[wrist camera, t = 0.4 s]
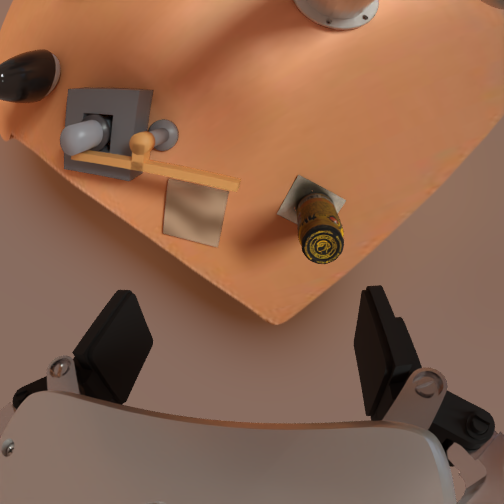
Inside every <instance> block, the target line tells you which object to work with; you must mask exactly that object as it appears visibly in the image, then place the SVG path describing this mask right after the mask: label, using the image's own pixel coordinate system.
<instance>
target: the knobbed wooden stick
mask: <svg viewBox="0 0 504 504" xmlns="http://www.w3.org/2000/svg"><path fill="white" fill-rule="evenodd" d="M129 146H130V149H131V151H132V157H130V156H124V155H118V154H112V153H105V152H98V151H91V150H86V151H83V152H81V153H78V154H76V155H73V156H71V160H78V161H84V162H90V163H97V164H103V165H108V166H114V167H120V168H125V169H131V170H136V171H141V172H147V173H152V174H157V175H162V176H167V177H172V178H176V179H181V180H186V181H190V182H195V183H199V184H204V185H208V186H213V187H217V188H221V189H226V190H230V191H234V192H237V191H238V189H239V186H240V182H241V179H239V178H235V177H231V176H226V175H222V174H218V173H213V172H208V171H204V170H199V169H194V168H190V167H185V166H180V165H175V164H170V163H164V162H159V161H154V160H149V158H150V151H151V150H152V149H153V148H154V146H155V137H154V135H153V134H152V133H151V132H148V131H143V132H140V133H137V134H134V135H133V136H132V137H131V139H130V142H129Z"/></svg>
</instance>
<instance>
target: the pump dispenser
mask: <svg viewBox="0 0 504 504" xmlns="http://www.w3.org/2000/svg"><path fill="white" fill-rule="evenodd" d="M59 77H60V63H59V60H58V59H57V57H56V56H55V55H54V54H52V53H51V52H50V51H48V50H34V51H29V52H25V53H22V54H19V55H17V56H14V57H12V58H10V59H8V60H6V61H5V62H3V63H2V64H0V100H3V101H8V102H15V103H33V102H37V101H40V100H41V99H43V98H44V97H45V96H47V95H48V94H49V93H50V92H51V91H52V90H53V89H54V88H55V86H56V84H57V82H58V80H59Z"/></svg>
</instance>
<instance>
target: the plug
mask: <svg viewBox="0 0 504 504" xmlns="http://www.w3.org/2000/svg"><path fill="white" fill-rule="evenodd" d="M112 121H113V115H111V116H106V117H103V116H101V115H99V114H93V115H89V116H86V117H85V118H84V119H83V120H82V121H81V122H80V123H76V124H73V125H69V126H67V127H65V128H64V129H63V131H62V133H61V136H60V144H61V148H62V150H63V151H64V152H65V153H66V154H67V155H70V156H73V155H76V154H78V153H81V152H83V151H86V150H91V151H99V150H101V149H103V148H104V147H105V146H106V145H107V143H108V142H110V141H111V131H112Z"/></svg>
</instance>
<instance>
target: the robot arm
mask: <svg viewBox="0 0 504 504" xmlns="http://www.w3.org/2000/svg"><path fill="white" fill-rule="evenodd" d="M293 1H294V3H295V5H296V6H297V8H298V9H299V10H300V11H301V12H302V13H303V14H304V15H305V16H306V17H307V18H309V19H310V20H312V21H313V22H315V23H317V24H319V25H321V26H324V27H327V28H331V29H336V30H350V29H355V28H358V27H361V26H363V25H365V24H367V23H368V22H369V21H370V20H371V19H372V18H373V17H374V16H375V14H376V12H377V10H378V5H379V0H293ZM481 1H482V2H484V3H486V4H488V5H490V6H492V7H495V8H498V9H504V0H481ZM363 18H365V20H364V19H363ZM326 22H329V23H330V24H327V23H326ZM152 345H153V338H152V336H151V333H150V331H149V329H148V327H147V324H146V322H145V319H144V316H143V314H142V311H141V309H140V306H139V303H138V301H137V298H136V296H135V294H133V293H132V292H131V291H130V290H118V291H117V292H116V293H115V294H114V296H113V297H112V298H111V299H110V301H109V302H108V303H107V305H106V306H105V307H104V309H103V310H102V312H101V313H100V314H99V316H98V317H97V318H96V320H95V321H94V322H93V324H92V325H91V327H90V328H89V329H88V331H87V332H86V334H85V335H84V336H83V338H82V339H81V341H80V342H79V344H78V345H77V347H76V348H75V350H74V351H73V354H74V356H75V357H74V359H72V358H71V357H69V356H60V357H58V358H56V359H54V360H53V361H52V362H51V363H50V364H49V366H48V368H47V376H46V377H44V378H41V379H39V380H37V381H35V382H33V383H30V384H28V385H26V386H24V387H22V388H20V389H19V390H17V392H16V393H15V395H14V397H13V404H11V403H9V404H7V405H6V406H5V407H3V408H2V409H1V410H0V504H504V434H502V433H501V432H499V433H497V432H496V431H495V430H494V429H495V424H494V420H493V417H492V416H491V415H490V413H488V412H487V411H485V410H484V409H481V408H480V407H478V406H476V405H474V404H472V403H470V402H468V401H466V400H464V399H462V398H460V397H458V396H456V395H454V394H452V393H451V392H449V391H447V381H446V379H445V377H444V376H443V375H442V374H441V372H439V371H437V370H435V369H432V368H422V367H421V364H420V361H419V358H418V356H417V353H416V350H415V348H414V345H413V343H412V340H411V338H410V335H409V333H408V330H407V328H406V325H405V323H404V321H403V319H402V318H401V317H396V318H395V316H394V313H393V311H392V309H391V306H390V304H389V301H388V299H387V297H386V294H385V292H384V290H383V287H382V286H381V285H379V286H367V288H366V290H362V293H361V300H360V307H359V313H358V320H357V326H356V331H355V338H354V349H355V355H356V360H357V365H358V370H359V376H360V382H361V387H362V393H363V399H364V406H365V411H366V416H371V421H349V422H331V423H297V424H296V423H292V424H291V423H288V424H287V423H278V424H277V423H250V422H234V421H221V420H211V419H202V418H193V417H186V416H179V415H172V414H166V413H160V412H155V411H149V410H144V409H139V408H134V407H130V406H124V405H122V404H123V403H124V402H126V401H127V399H128V396H129V394H130V392H131V390H132V387H133V386H134V383H135V381H136V379H137V377H138V375H139V373H140V370H141V368H142V366H143V364H144V362H145V360H146V358H147V356H148V354H149V351H150V349H151V347H152ZM450 466H455V467H456V468H457V469H458V470H459V471H460V473H459V475H460V476H461V477H462V478H463V480H464V482H465V487H466V490H465V493H464V495H463V496H462V498H461V499H460V500H459V501H458V502H456V496H455V489H454V484H453V478H452V474H451V470H450Z"/></svg>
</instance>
